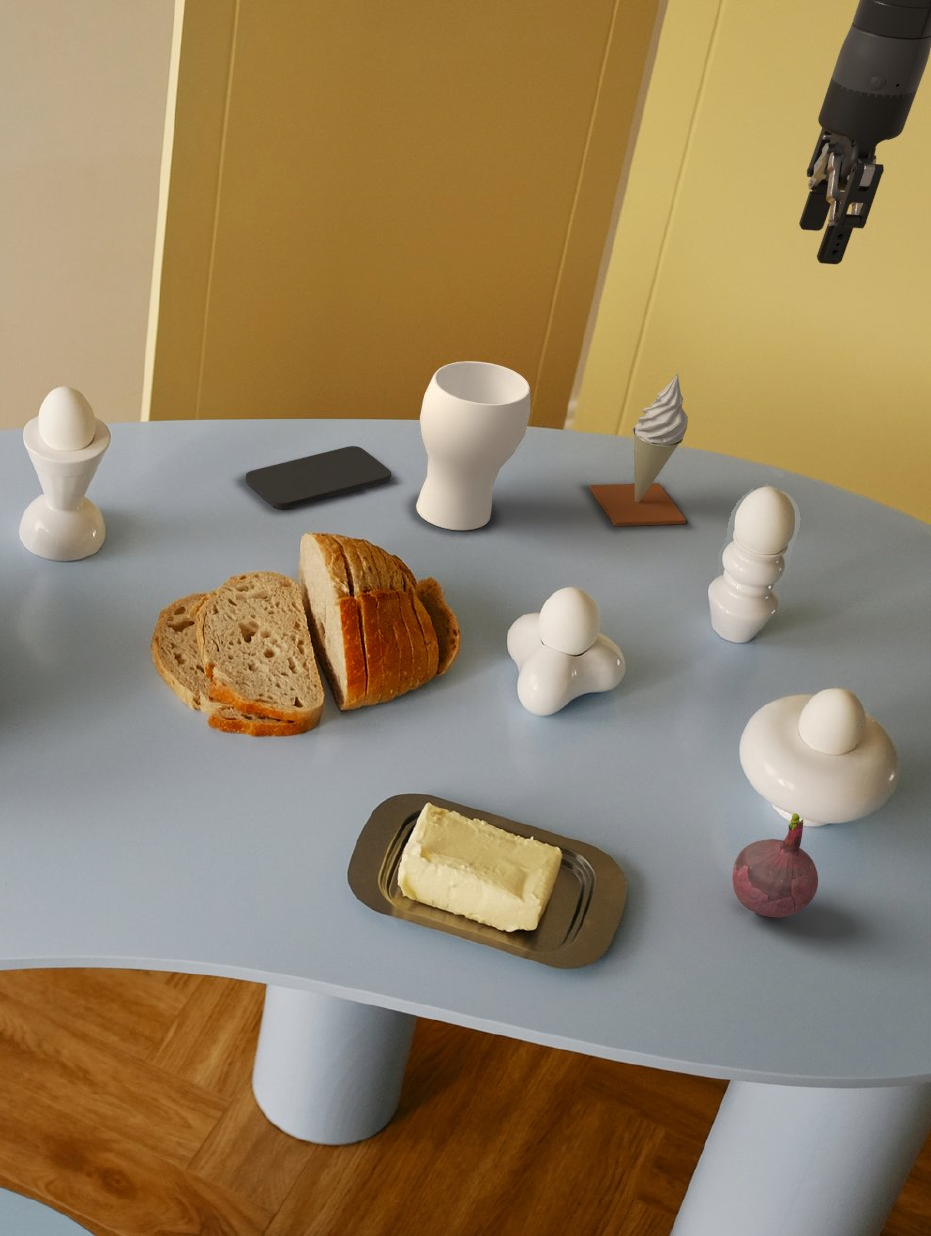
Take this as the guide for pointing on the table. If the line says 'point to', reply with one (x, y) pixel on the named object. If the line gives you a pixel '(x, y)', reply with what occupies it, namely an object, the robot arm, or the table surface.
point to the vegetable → (776, 875)
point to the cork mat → (637, 505)
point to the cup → (469, 439)
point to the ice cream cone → (658, 436)
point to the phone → (317, 476)
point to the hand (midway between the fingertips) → (818, 245)
